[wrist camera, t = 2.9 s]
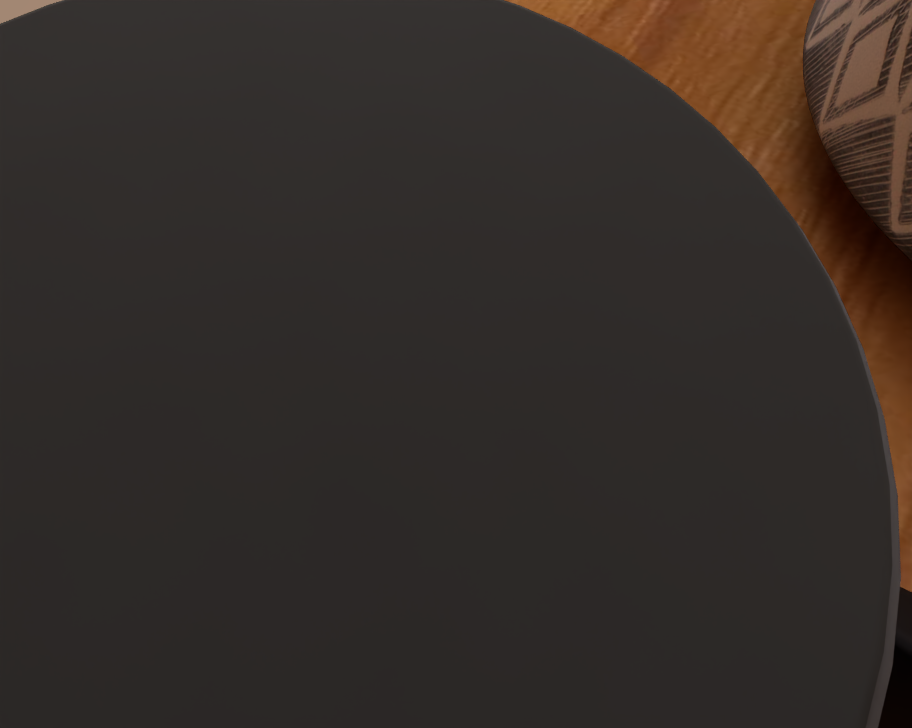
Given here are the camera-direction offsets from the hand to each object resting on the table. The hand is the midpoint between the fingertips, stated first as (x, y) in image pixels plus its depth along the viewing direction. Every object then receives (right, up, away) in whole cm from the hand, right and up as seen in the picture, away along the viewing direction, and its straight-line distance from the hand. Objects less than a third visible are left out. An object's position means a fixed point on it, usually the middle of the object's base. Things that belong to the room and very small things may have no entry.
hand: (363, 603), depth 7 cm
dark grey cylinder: (-1, -3, +8) cm, 8 cm away
